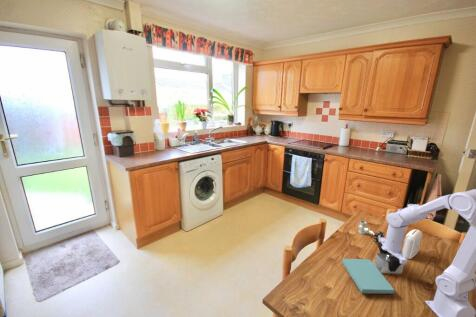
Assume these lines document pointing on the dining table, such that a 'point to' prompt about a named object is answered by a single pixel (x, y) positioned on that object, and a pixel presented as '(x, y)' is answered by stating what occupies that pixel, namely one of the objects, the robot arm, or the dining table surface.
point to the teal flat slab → (367, 276)
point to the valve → (369, 231)
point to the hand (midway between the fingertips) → (388, 266)
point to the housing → (385, 263)
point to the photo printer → (412, 243)
